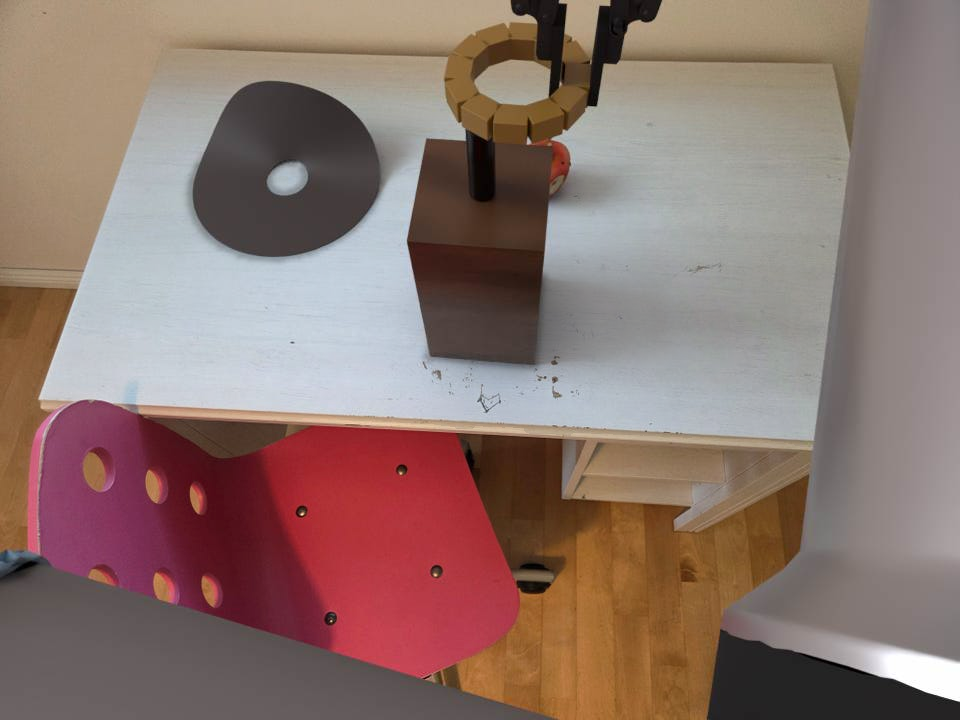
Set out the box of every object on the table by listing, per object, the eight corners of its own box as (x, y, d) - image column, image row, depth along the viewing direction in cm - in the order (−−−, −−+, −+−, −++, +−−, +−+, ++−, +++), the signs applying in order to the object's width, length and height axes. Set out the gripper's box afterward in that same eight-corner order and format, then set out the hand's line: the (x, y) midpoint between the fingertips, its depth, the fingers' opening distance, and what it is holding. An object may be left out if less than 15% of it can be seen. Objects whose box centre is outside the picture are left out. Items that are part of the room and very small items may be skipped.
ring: (583, 149, 51) (586, 129, 49) (437, 138, 52) (434, 118, 50) (592, 48, 56) (595, 26, 54) (458, 40, 57) (456, 18, 55)
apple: (571, 207, 89) (579, 151, 80) (519, 213, 88) (521, 157, 80) (561, 162, 92) (567, 103, 83) (510, 167, 92) (511, 109, 83)
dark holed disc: (161, 238, 88) (125, 188, 80) (221, 124, 97) (194, 68, 88) (348, 271, 85) (331, 222, 77) (392, 150, 94) (381, 94, 85)
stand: (533, 365, 79) (544, 251, 59) (429, 356, 80) (406, 241, 60) (541, 277, 84) (553, 145, 64) (443, 269, 85) (426, 137, 65)
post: (494, 203, 62) (493, 136, 54) (467, 201, 62) (463, 135, 55) (497, 182, 63) (496, 114, 55) (470, 180, 63) (466, 112, 56)
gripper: (782, -340, 34) (673, 65, 55) (468, -344, 35) (480, 53, 56) (795, -266, 30) (674, 135, 51) (448, -274, 31) (468, 121, 52)
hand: (573, 92), depth 53 cm, fingers closed on ring, 2 cm apart
